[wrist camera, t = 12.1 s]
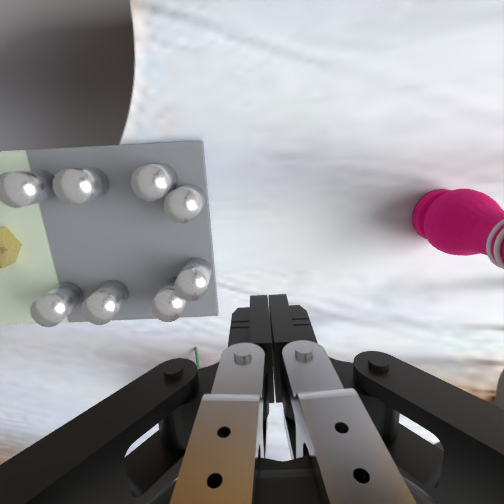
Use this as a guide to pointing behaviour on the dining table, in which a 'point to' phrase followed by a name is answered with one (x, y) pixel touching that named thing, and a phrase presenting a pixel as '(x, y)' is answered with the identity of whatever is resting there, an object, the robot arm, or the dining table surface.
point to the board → (105, 232)
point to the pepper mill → (462, 223)
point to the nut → (8, 247)
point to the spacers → (113, 291)
